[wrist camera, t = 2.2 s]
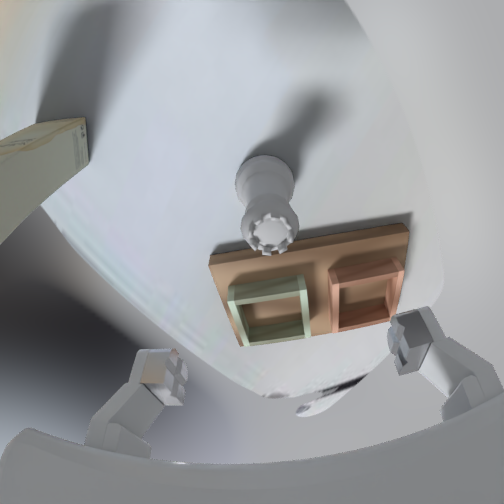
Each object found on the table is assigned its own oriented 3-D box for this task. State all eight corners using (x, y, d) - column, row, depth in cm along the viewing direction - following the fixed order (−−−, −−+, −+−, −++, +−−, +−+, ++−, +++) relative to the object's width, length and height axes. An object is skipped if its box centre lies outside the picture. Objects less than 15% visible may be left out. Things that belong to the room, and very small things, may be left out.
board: (210, 255, 26) (205, 281, 23) (402, 222, 24) (419, 244, 21) (240, 336, 33) (239, 360, 30) (389, 309, 31) (399, 332, 28)
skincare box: (87, 115, 18) (-24, 174, 8) (90, 166, 20) (-1, 251, 10) (32, 123, 17) (-69, 182, 7) (38, 168, 20) (-50, 243, 10)
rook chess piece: (225, 167, 21) (213, 219, 15) (279, 143, 20) (295, 184, 13) (250, 214, 23) (250, 279, 17) (301, 193, 22) (322, 253, 16)
